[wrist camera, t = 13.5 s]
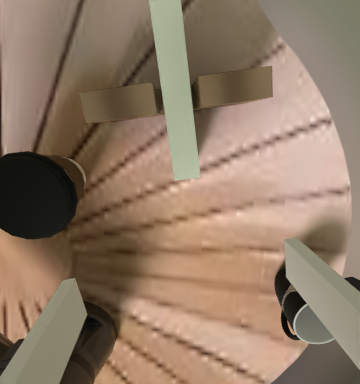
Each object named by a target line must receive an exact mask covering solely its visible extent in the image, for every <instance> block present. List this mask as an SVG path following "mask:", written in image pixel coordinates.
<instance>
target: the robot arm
mask: <svg viewBox="0 0 360 384" xmlns="http://www.w3.org/2000/svg"><path fill="white" fill-rule="evenodd" d="M284 246H285V264H286V278H287V279H288V280H289V281H290V283H291V284H292V285H293V286H294V288H295V289H296V290H297V292H298V293H299V294H300V295H301V297H302V298H303V299H304V300H305V302H306V303H307V304H308V305H309V307H310V308H311V309H312V310H313V312H314V313H315V314H316V315H317V317H318V318H319V319H320V320H321V322H322V323H323V324H324V326H325V327H326V328H327V329H328V331H329V332H330V333H331V334H332V336H333V337H334V338H335V339H336V341H337V342H338V343H339V344H340V346H341V347H342V348H343V349H344V351H345V352H346V353H347V354H348V356H349V357H350V358H351V359H352V361H353V362H354V363H355V364H356V366H357V367H358V368H359V369H360V280H358V279H356V278H354V277H348V278H343V277H342V276H340V275H339V274H338V273H337V272H336V271H335V270H333V269H332V268H331V267H330V266H329V265H328V264H327V263H325V262H324V261H323V260H322V259H321V258H320V257H318V256H317V255H316V254H315V253H314V252H313V251H311V250H310V249H309V248H308V247H307V246H306V245H304V244H303V243H302V242H301V241H300V240H299V239H297V238H290V239H285V240H284ZM115 340H116V327H115V324H114V322H113V320H112V319H111V317H110V316H109V315H108V314H107V313H106V312H105V311H104V310H102V309H101V308H99V307H97V306H95V305H93V304H90V303H87V302H83V300H82V297H81V294H80V291H79V288H78V285H77V282H76V279H75V278H72V279H67V280H63V281H62V282H61V284H60V285H59V287H58V288H57V290H56V292H55V293H54V295H53V296H52V298H51V299H50V301H49V302H48V304H47V305H46V307H45V308H44V310H43V312H42V313H41V315H40V316H39V318H38V319H37V321H36V322H35V324H34V325H33V327H32V328H31V330H30V332H29V333H28V335H27V336H26V338H25V339H19V340H18V341H17V342H16V343H15V344H14V343H13V342H12V341H10V340H9V339H8V338H7V337H5V336H4V335H3V334H1V333H0V384H94V381H95V378H96V377H97V375H98V374H99V372H100V371H101V369H102V367H103V366H104V364H105V363H106V361H107V359H108V358H109V357H110V355H111V353H112V351H113V348H114V344H115Z"/></svg>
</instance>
